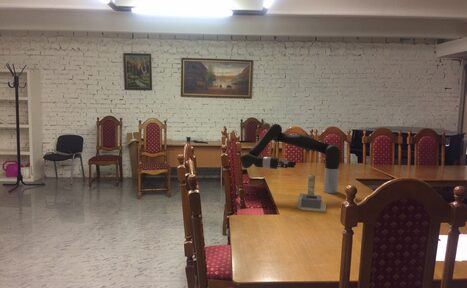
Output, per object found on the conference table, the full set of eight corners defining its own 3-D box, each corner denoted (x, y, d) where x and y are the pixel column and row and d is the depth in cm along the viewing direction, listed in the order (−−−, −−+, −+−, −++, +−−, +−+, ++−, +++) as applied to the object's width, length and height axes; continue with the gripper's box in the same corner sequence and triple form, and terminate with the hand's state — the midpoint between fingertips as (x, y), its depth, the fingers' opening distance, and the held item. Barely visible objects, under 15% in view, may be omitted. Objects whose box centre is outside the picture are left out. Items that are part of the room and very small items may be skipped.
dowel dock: (299, 202, 229) (300, 193, 228) (326, 204, 224) (326, 195, 224) (297, 208, 215) (298, 199, 215) (325, 211, 211) (325, 201, 210)
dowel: (307, 198, 238) (308, 174, 236) (314, 198, 237) (315, 174, 235) (307, 199, 234) (308, 175, 232) (313, 200, 233) (314, 176, 231)
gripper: (268, 159, 232) (294, 160, 228) (272, 155, 246) (296, 157, 242) (268, 170, 233) (293, 172, 229) (271, 166, 247) (295, 168, 243)
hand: (295, 164), depth 235 cm, fingers open, 8 cm apart
